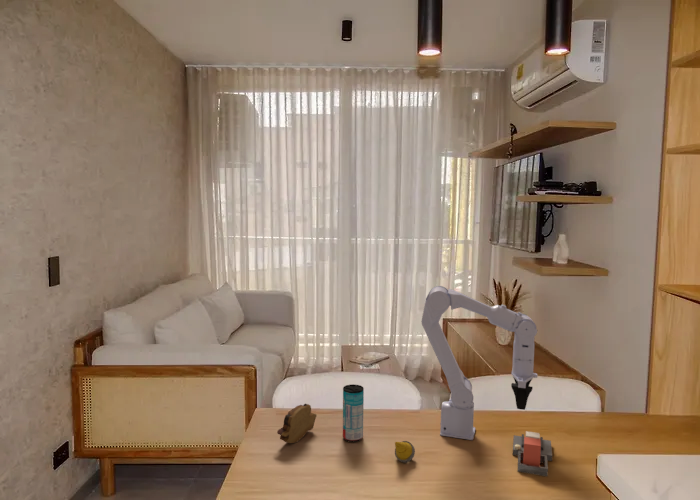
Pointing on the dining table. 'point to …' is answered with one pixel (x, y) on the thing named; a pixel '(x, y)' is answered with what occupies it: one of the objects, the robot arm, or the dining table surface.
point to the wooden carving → (297, 423)
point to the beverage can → (353, 412)
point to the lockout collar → (531, 468)
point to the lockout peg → (532, 451)
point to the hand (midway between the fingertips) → (521, 403)
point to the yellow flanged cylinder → (404, 451)
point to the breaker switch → (533, 435)
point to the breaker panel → (545, 446)
